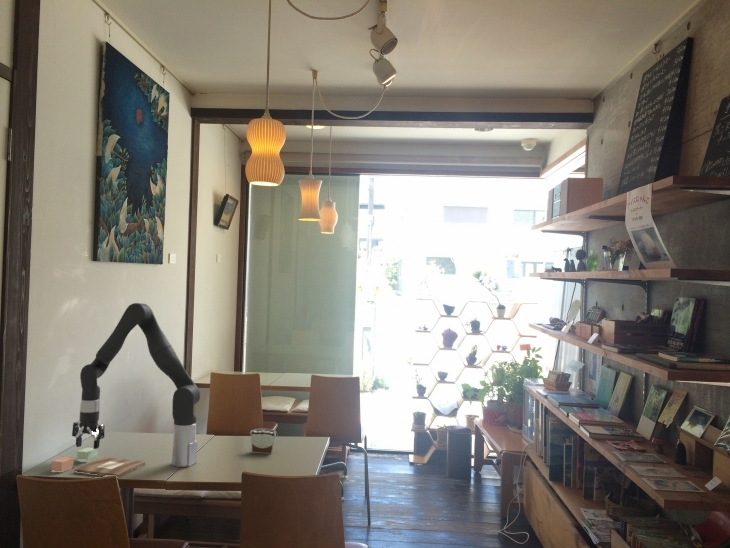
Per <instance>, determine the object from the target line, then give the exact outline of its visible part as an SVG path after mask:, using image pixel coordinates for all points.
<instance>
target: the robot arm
mask: <svg viewBox="0 0 730 548" xmlns="http://www.w3.org/2000/svg"><path fill="white" fill-rule="evenodd" d="M136 326H138V327H139V329H141V332H142V333H143V334H144V336H145V338H146V342H147V343H146V344H147V347H148V349H147V350H148V352H149V355H150V356H151V358H152V360H153V362H154V363H155V365H156V366H157V368H158V369H159V370H160V371H161V372H162V373H163V374H165V375H166V376H167V377H168V378H169V379H170V380H171V381H172V383H173V385H174V386H175V388H176V390H174V392H173V395H172V411H171V413H172V415H171V416H172V419H173V433H172V434H173V435H172V455H171V457H172V459H171V465H172V466H173V467H178V468H179V467H180V468H183V467H188V468H189V467H191V466H192V465H196V463H197V459H198V439H196V436H197V421H198V420H197V419H198V418H197V416H196V414H194V406H195V405H196V404H197V403H198V402H199V401H200V399H201V392H200V389H199V387H198V386H197V384H196V383H195V382H194V381H193V379H192V378H191V376H190V375H189V374H188V372H187V371H186V369H185V367H184V365H183V364H182V362H181V360H180V359H179V357H178V355H177V353H176V351H175V349H174V348H173V346H172V344H171V343H170V342H169V339H168V338H167V337H166V335H165V334H164V332H163V330H162V329H161V327H160V325H159V322H158V321H157V318H156V316H155V313H154V312H153V309H152V308H151V307H150V306H149V305H148V304H145V303H139V302H134V303H131V304H130V305H128V306H127V307H126V309H125V311H124V312H123V314H122V316H121V317H120V319H119V321H118V323H117V325H116V326H115V327H114V329H113V331H112V332H111V334H110V335H109V336H108V338H107V339H106V340H105V342H104V343H103V344H102V345H101V347H100V348H98V349H99V350H98V351H97V352H96V354H95V358H94V360H93V361H92V362H91V363H88V364H86V365H84V366H83V367H82V368H81V370H80V385H81V390H82V391H81V400H80V408H79V419H78V421H75V422H73V423H72V431H71V437H74V438H75V447H76V448H79V447H80V448H81V447H82V443H83V442H82V440H83V435H84V434H85V435H86V434H87V435H90V436H91V437H92V438H93V448H94V449H97V448H98V449H99V448H100V443H101V442H100V441H101V440H102V439H104V438H105V429H106V428H105V425H106V424H104V423H102V424H99V420H100V408H101V407H100V406H101V402H100V400H101V399H100V398H101V397H100V396H101V387H100V386H99V385H98V379H99V378H101V377H102V376H103V375H104V374H105V373H106V372H107V369H108V368H109V365H110V364H111V362H112V361H113V360H114V359H115V357H116V356H117V355H118V354H119V352H120V351H121V349H122V348H123V346H124V344H125V341H126V339H127V336H128V335H129V334H130V333H131V331H132V330H133V329H134V328H135V327H136Z"/></svg>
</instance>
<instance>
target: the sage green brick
mask: <svg viewBox="0 0 730 548" xmlns="http://www.w3.org/2000/svg"><path fill="white" fill-rule="evenodd" d="M98 449H99V447H98V448H97V449H94V447H84V448H82V449H79V450H77V457H76V460H77V459H87V460H88V459H90V458H92V457H94V456H97V457H98V451H99V450H98Z"/></svg>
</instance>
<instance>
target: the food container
mask: <svg viewBox="0 0 730 548" xmlns="http://www.w3.org/2000/svg"><path fill="white" fill-rule="evenodd" d="M249 436H250V438H251V439H250V441H251V454H252V453H253V454H255V453H256V454H268V455H269V454H271V455H272V454H273V450H274V443H275V442H274V440H275V437H277V434H276V431H275V429H272V428H265V427H263V428H254V429H252V430H250V432H249Z"/></svg>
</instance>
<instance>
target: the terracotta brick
mask: <svg viewBox="0 0 730 548" xmlns="http://www.w3.org/2000/svg"><path fill="white" fill-rule="evenodd" d="M50 464H51V465H50V471H51V470H55V471H64V470H66V469H68V468H70V467H73V468H74V457H68V456H62V457H58V458H56V459H53V460H51V463H50Z"/></svg>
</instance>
